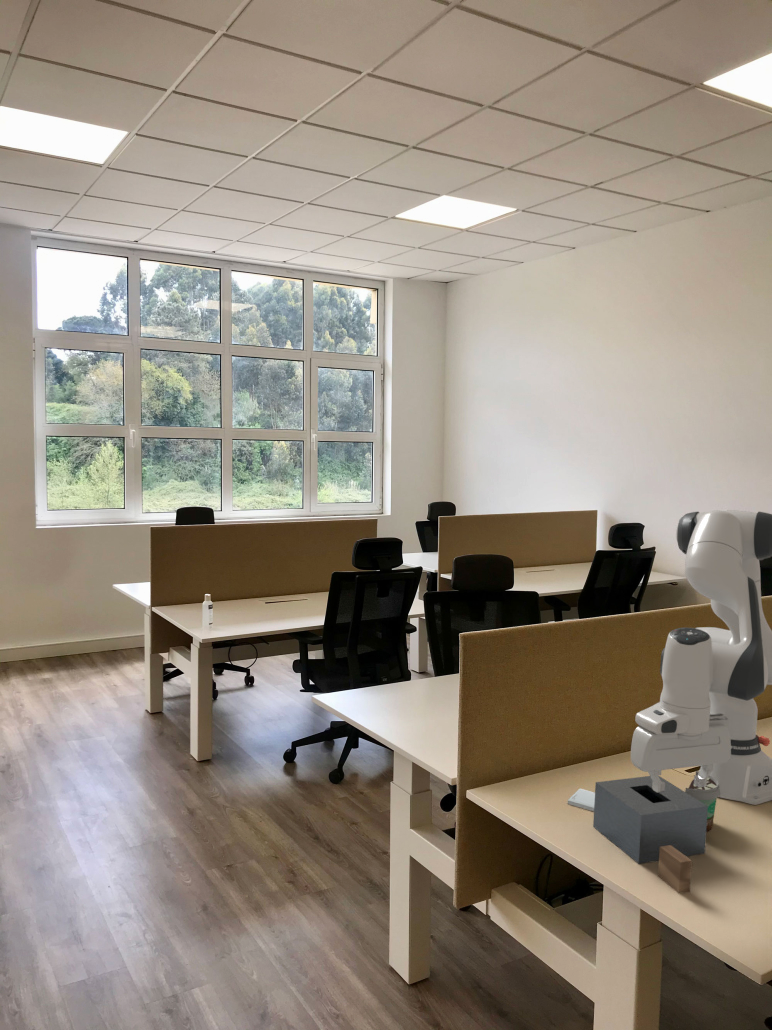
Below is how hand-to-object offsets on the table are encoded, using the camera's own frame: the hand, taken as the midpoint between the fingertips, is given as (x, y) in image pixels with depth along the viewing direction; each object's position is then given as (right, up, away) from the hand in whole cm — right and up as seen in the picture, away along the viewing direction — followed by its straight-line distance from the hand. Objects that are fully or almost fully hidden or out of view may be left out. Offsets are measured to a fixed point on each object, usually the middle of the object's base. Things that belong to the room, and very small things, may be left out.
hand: (679, 788), depth 148 cm
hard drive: (-6, -17, +35) cm, 39 cm away
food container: (+15, -17, +26) cm, 34 cm away
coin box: (0, -17, +19) cm, 25 cm away
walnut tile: (-1, -19, +2) cm, 19 cm away
